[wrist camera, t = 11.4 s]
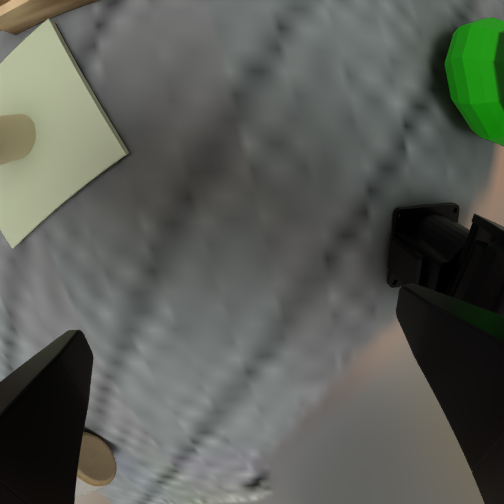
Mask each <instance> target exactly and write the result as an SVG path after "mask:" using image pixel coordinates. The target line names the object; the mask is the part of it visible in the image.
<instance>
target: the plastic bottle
mask: <svg viewBox="0 0 504 504" xmlns="http://www.w3.org/2000/svg"><path fill="white" fill-rule="evenodd" d="M444 66H445V70H446V75H447V80H448V85H449V91H450V97H451V99H452V101H453V102H454V104H455V105H456V107H457V108H458V110H459V111H460V113H461V114H462V116H463V117H464V119H465V121H466V122H467V124H468V125H469V127H470V129H471V130H472V131H473V132H474V133H476V134H477V135H478V136H479V137H481V138H484V139H486V140H489V141H492V142H494V143H497V144H499V145H502V146H504V21H502V20H499V19H495V18H486V19H481V20H478V21H475V22H471V23H468V24H465V25H462V26H460V27H459V28H458V29H457V30H456V31H455V32H454V33H453V36H452V40H451V43H450V47H449V50H448V53H447V57H446V60H445V64H444Z"/></svg>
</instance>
